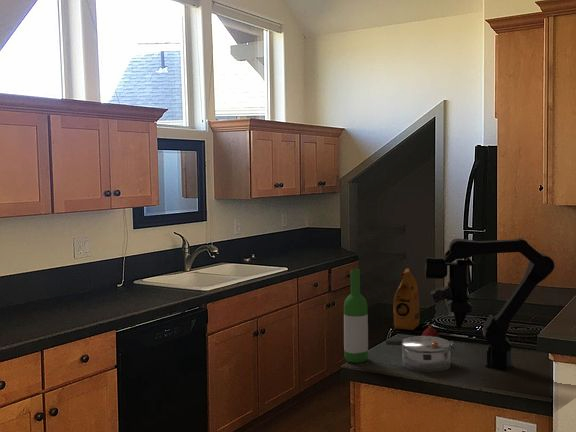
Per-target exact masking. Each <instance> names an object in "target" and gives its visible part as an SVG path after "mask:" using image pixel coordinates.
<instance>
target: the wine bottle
mask: <svg viewBox="0 0 576 432" xmlns="http://www.w3.org/2000/svg"><path fill="white" fill-rule="evenodd" d="M360 273H361V270H360V269H359V268H353V269H350V294H348V296H347V297H346V298H345V300H344V302H343V347H344V348H343V349H344V350H343V351H344V353H343V356H344V359H345V360H346V362H348V363H353V364H359V363H364V362H367V360H368V359H369V323H368V322H369V321H368V319H369V318H368V316H369V314H368V310H369V309H368V302H367V300H366V298H365V297H364V296H363V295H362V294H361V274H360Z"/></svg>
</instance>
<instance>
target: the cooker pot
mask: <svg viewBox="0 0 576 432" xmlns="http://www.w3.org/2000/svg"><path fill="white" fill-rule="evenodd" d="M401 351H402V352H401V353H402V354H401V356H402V357H401V358H402V359H401V361H402V364H403V365H402V366H403V367H404V366H405V367H404V368H406V367H407V369H408V368H409V369H408V370H411V371H414V370H415V372H420V371H423V372H422V373H437V371H439V372H443V371H446V369H447V370H448V369H450V368H451V348H450V349H448V350H446V351H443V352H436V353H424V352H416V351H411V350H408V349H405V348H404V347H402V346H401ZM416 370H417V371H416ZM433 371H435V372H433Z"/></svg>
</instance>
